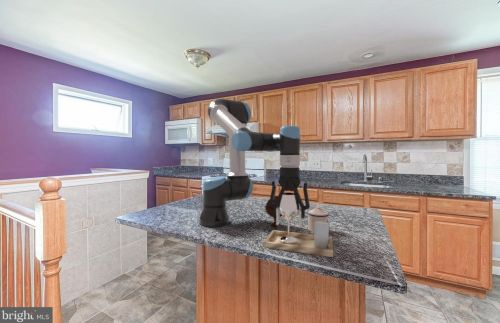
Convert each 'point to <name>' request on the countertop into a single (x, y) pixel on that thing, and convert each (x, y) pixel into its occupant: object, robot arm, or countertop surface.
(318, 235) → the white rounded capsule
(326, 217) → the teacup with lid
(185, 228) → the countertop surface
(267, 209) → the ice cream bowl
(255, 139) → the robot arm
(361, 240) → the countertop surface
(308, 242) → the tray
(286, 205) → the wineglass
